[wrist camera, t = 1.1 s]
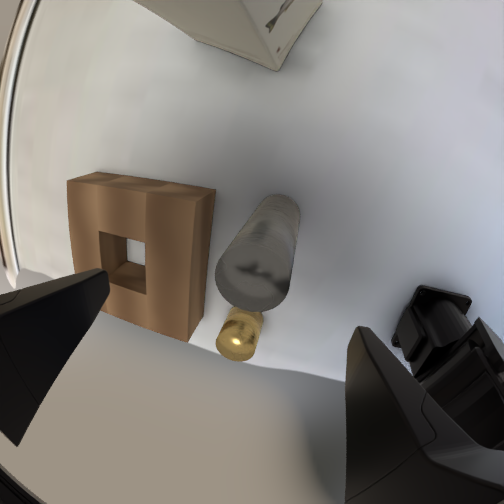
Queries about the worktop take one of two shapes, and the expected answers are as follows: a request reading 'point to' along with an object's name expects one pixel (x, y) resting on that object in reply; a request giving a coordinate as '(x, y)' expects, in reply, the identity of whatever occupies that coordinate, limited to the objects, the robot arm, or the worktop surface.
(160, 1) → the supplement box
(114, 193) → the hole block
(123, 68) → the worktop surface
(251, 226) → the long pin
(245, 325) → the short pin
